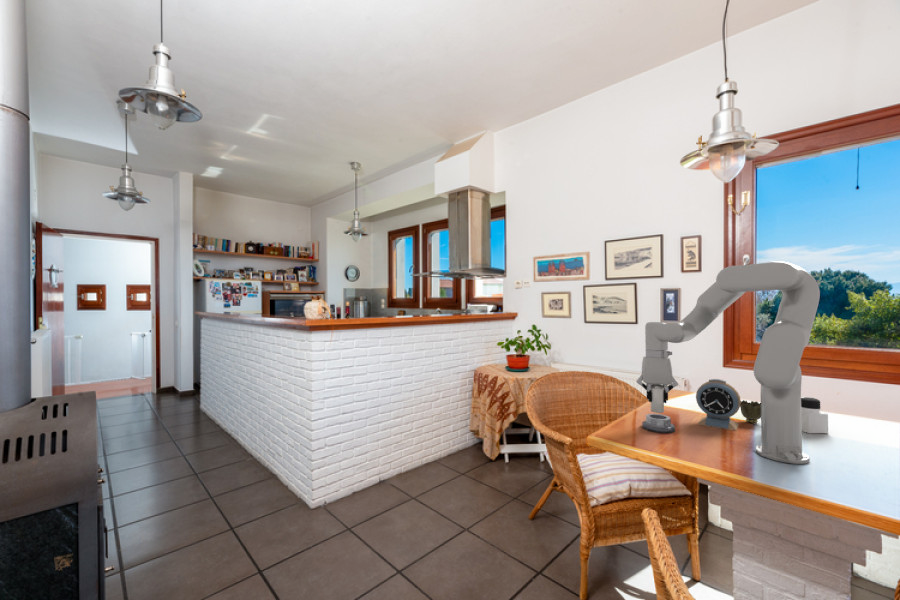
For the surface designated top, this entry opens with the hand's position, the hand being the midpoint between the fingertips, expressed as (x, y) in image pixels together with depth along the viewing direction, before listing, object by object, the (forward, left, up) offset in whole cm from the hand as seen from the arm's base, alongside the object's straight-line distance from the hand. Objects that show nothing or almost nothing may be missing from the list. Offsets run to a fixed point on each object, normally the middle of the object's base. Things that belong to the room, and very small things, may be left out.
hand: (657, 401), depth 145 cm
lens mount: (0, 0, -10) cm, 10 cm away
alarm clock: (+12, -23, -11) cm, 28 cm away
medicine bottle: (+13, -52, -11) cm, 55 cm away
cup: (+18, -36, -11) cm, 42 cm away
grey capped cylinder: (0, 0, -4) cm, 4 cm away
